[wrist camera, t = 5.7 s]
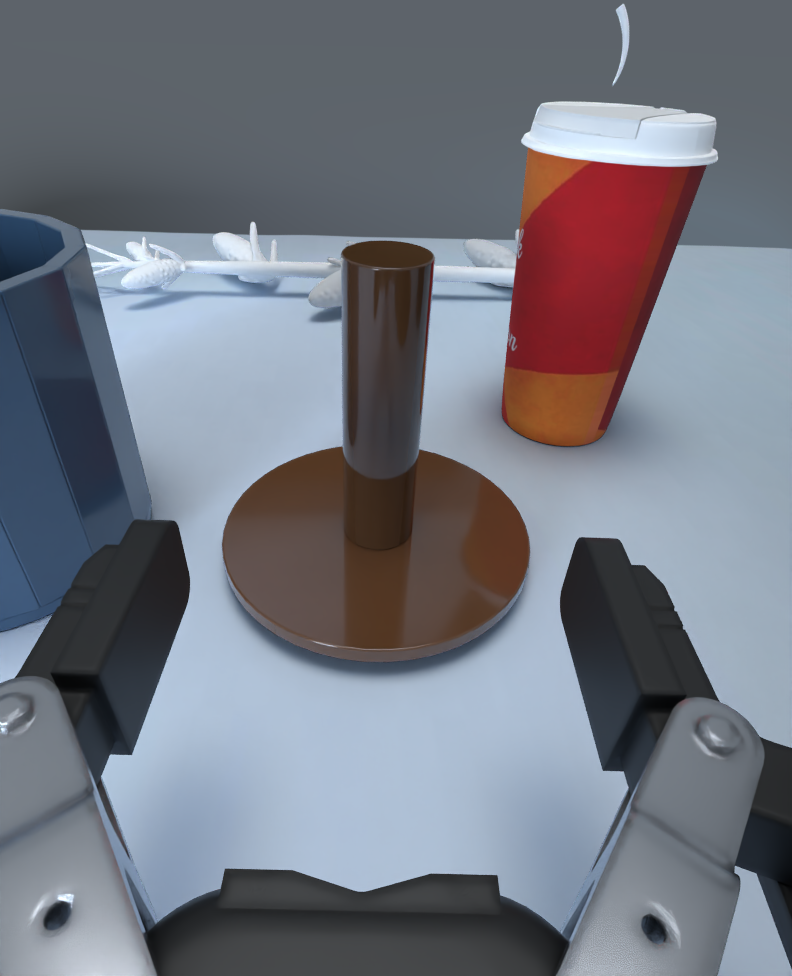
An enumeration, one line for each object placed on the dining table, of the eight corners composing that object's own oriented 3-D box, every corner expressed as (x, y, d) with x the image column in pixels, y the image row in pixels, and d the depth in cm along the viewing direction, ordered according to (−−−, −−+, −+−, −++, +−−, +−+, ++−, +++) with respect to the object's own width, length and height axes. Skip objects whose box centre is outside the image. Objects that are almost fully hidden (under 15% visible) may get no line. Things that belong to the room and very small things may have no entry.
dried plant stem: (552, 270, 52) (68, 256, 49) (626, -6, 39) (-37, -56, 35) (592, 347, 44) (17, 337, 41) (702, 32, 31) (-146, -27, 27)
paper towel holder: (368, 437, 30) (373, 190, 23) (578, 545, 24) (666, 260, 17) (163, 554, 23) (84, 246, 16) (392, 746, 17) (420, 395, 10)
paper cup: (554, 373, 36) (615, 98, 28) (659, 433, 31) (772, 120, 23) (450, 403, 33) (484, 99, 24) (550, 476, 28) (636, 125, 19)
